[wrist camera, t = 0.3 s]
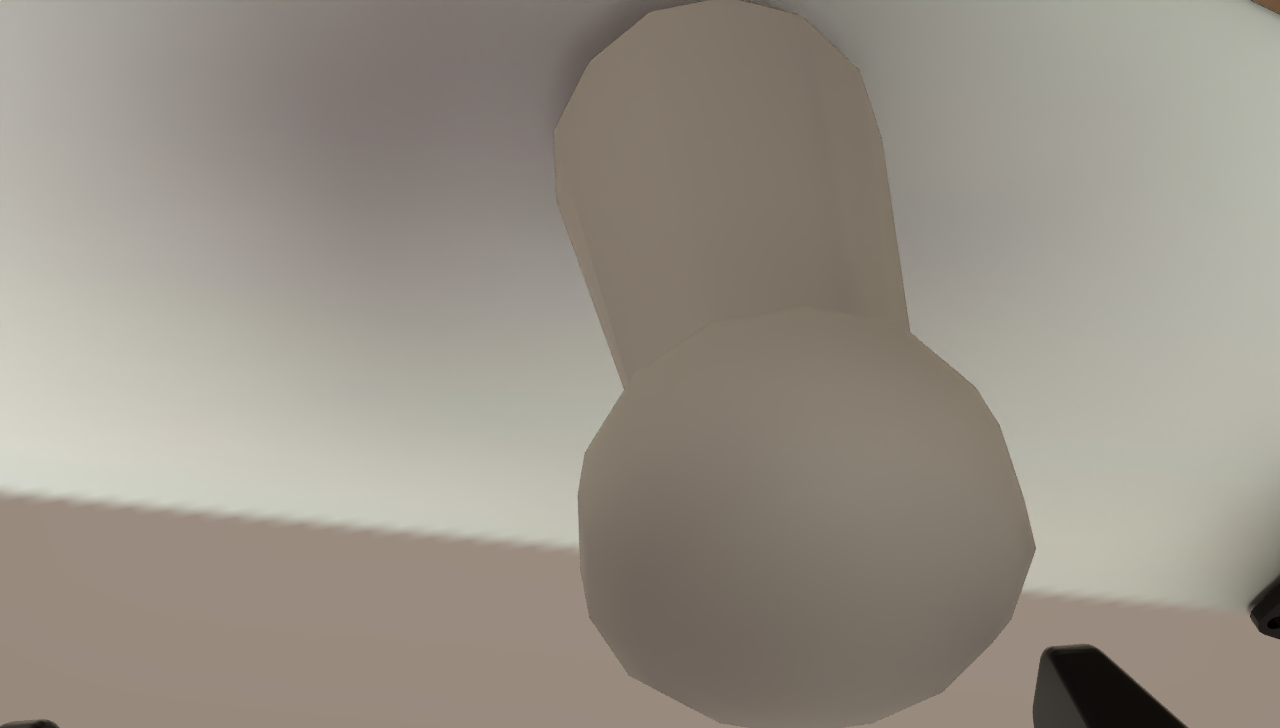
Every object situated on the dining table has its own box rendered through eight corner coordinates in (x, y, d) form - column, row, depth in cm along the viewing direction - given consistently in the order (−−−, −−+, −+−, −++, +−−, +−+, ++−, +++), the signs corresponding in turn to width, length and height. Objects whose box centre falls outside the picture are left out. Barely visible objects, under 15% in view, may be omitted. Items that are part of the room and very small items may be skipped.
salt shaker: (595, 275, 21) (566, 853, 10) (526, 7, 18) (380, 432, 7) (865, 223, 21) (1133, 779, 10) (840, -62, 18) (1195, 287, 7)
